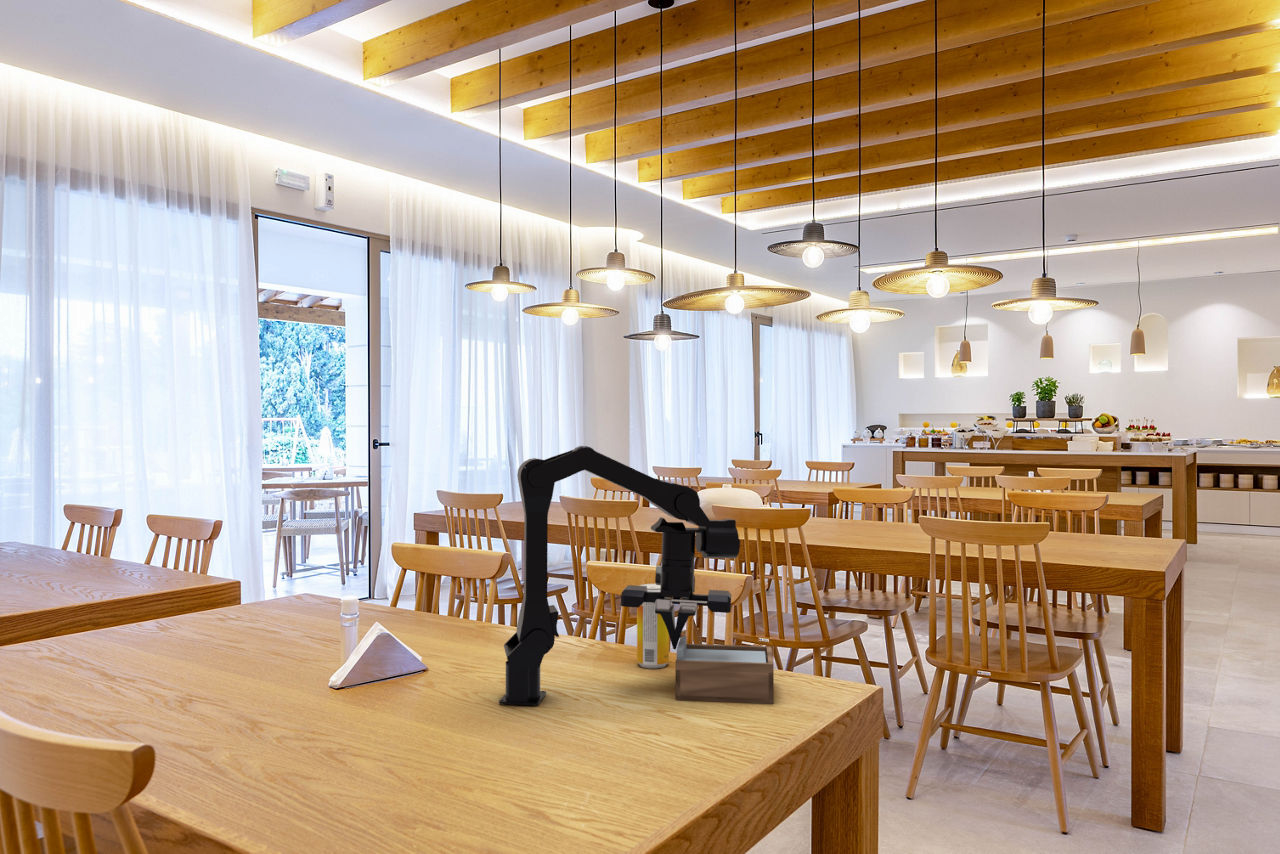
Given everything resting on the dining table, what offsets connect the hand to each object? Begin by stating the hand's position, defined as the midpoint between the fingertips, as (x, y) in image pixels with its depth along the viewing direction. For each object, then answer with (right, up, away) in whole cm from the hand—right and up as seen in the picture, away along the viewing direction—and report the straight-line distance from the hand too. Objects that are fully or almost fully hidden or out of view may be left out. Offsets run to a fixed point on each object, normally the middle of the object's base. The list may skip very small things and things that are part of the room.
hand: (674, 648), depth 146 cm
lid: (+8, -2, -1) cm, 8 cm away
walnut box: (+8, -7, -1) cm, 11 cm away
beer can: (-4, -7, +15) cm, 17 cm away
